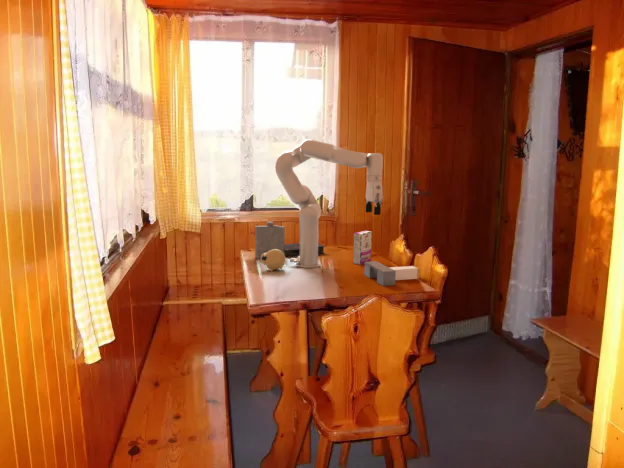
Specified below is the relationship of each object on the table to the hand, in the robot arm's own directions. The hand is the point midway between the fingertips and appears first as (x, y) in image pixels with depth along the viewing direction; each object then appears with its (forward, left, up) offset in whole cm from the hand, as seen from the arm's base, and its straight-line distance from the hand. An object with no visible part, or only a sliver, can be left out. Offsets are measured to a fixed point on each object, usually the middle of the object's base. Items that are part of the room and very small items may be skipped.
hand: (372, 213), depth 251 cm
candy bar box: (+2, +15, -28) cm, 32 cm away
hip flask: (-43, +37, -28) cm, 64 cm away
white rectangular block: (+7, -20, -28) cm, 35 cm away
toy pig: (-48, +10, -29) cm, 57 cm away
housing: (-5, -20, -28) cm, 35 cm away
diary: (-23, +46, -29) cm, 59 cm away
